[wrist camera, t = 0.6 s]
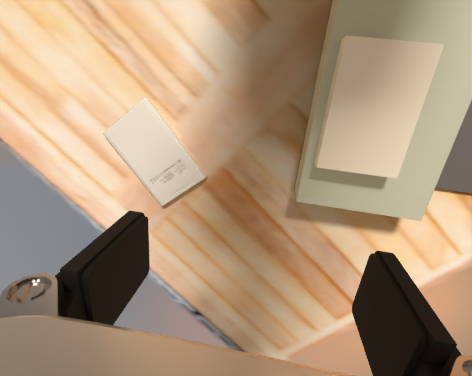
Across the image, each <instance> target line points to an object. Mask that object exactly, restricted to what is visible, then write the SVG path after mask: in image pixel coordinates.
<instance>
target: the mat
mask: <svg viewBox="0 0 472 376" xmlns="http://www.w3.org/2000/svg"><path fill="white" fill-rule="evenodd" d="M435 188H438V189H445V190H452V191H459V192H466V193H472V100H471V103H470V105H469V107H468V110H467V112H466V115H465V117H464V119H463V122H462V124H461V127H460V129H459V131H458V134H457V136H456V139H455V141H454V143H453V146H452V148H451V151H450V153H449V156H448V158H447V160H446V163H445V165H444V168H443V170H442V172H441V175H440V177H439V180H438V182H437V184H436V187H435Z"/></svg>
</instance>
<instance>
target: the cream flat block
mask: <svg viewBox="0 0 472 376" xmlns="http://www.w3.org/2000/svg"><path fill="white" fill-rule="evenodd" d="M443 47H444V44H436V43H425V42H414V41H403V40H392V39H381V38H370V37H359V36H348V35H346V36H345V37H344V38H342V39H341V43H340V47H339V52H338V56H337V61H336V65H335V70H334V74H333V79H332V83H331V88H330V92H329V97H328V101H327V106H326V110H325V115H324V119H323V124H322V128H321V133H320V137H319V142H318V146H317V151H316V155H315V160H314V163H315V166H316V167H317V168H325V169H332V170H339V171H346V172H353V173H360V174H367V175H374V176H382V177H389V178H396V179H397V178H398V175H399V172H400V169H401V166H402V163H403V161H404V158H405V155H406V152H407V149H408V146H409V144H410V141H411V138H412V135H413V132H414V129H415V127H416V124H417V121H418V118H419V115H420V112H421V110H422V107H423V104H424V101H425V98H426V95H427V93H428V90H429V87H430V84H431V81H432V78H433V76H434V73H435V70H436V67H437V64H438V61H439V59H440V56H441V53H442V50H443Z"/></svg>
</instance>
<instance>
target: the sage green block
mask: <svg viewBox="0 0 472 376" xmlns="http://www.w3.org/2000/svg"><path fill="white" fill-rule="evenodd" d="M346 35H348V36H359V37H370V38H381V39H392V40H403V41H414V42H425V43H436V44H444V47H443V50H442V53H441V56H440V59H439V61H438V64H437V67H436V70H435V73H434V76H433V78H432V81H431V84H430V87H429V90H428V93H427V95H426V98H425V101H424V104H423V107H422V110H421V112H420V115H419V118H418V121H417V124H416V127H415V129H414V132H413V135H412V138H411V141H410V144H409V146H408V149H407V152H406V155H405V158H404V161H403V163H402V166H401V169H400V172H399V175H398V178H397V179H396V178H389V177H382V176H374V175H367V174H360V173H353V172H346V171H339V170H332V169H325V168H317V167H316V166H315V163H314V160H315V155H316V151H317V146H318V142H319V137H320V133H321V128H322V124H323V119H324V115H325V110H326V106H327V101H328V97H329V92H330V88H331V83H332V79H333V74H334V70H335V65H336V61H337V56H338V52H339V47H340V43H341V39H342V38H344V37H345V36H346ZM471 100H472V0H332V5H331V10H330V15H329V20H328V25H327V30H326V35H325V40H324V45H323V50H322V54H321V59H320V64H319V69H318V74H317V79H316V84H315V89H314V94H313V99H312V104H311V109H310V114H309V119H308V124H307V129H306V134H305V139H304V144H303V149H302V154H301V159H300V164H299V168H298V173H297V178H296V183H295V188H294V191H295V197H296V202H301V203H307V204H314V205H320V206H327V207H333V208H340V209H346V210H353V211H359V212H366V213H372V214H379V215H385V216H392V217H398V218H405V219H411V220H418V221H421V220H422V218H423V216H424V213H425V211H426V208H427V206H428V204H429V201H430V199H431V196H432V194H433V192H434V189H435V187H436V184H437V182H438V180H439V177H440V175H441V172H442V170H443V168H444V165H445V163H446V160H447V158H448V156H449V153H450V151H451V148H452V146H453V143H454V141H455V139H456V136H457V134H458V131H459V129H460V127H461V124H462V122H463V119H464V117H465V115H466V112H467V110H468V107H469V105H470V103H471Z"/></svg>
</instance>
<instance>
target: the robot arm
mask: <svg viewBox="0 0 472 376" xmlns="http://www.w3.org/2000/svg"><path fill="white" fill-rule="evenodd" d="M148 272H149V235H148V218H147V217H145V215H144V213H141V212H135V211H129V212H127V213H126V214H125V215H124V216H123V217H121V218H120V219H119V220H118V221H117V222H115V223H114V224H113V225H112V226H111V227H109V228H108V229H107V230H106V231H105V232H104V233H102V234H101V235H100V236H99V237H98V238H97V239H95V240H94V241H93V242H92V243H91V244H89V245H88V246H87V247H86V248H85V249H83V250H82V251H81V252H80V253H79V254H77V255H76V256H75V257H74V258H73V259H72V260H70V261H69V262H68V263H67V264H66V265H64V266H63V267H62V268H61V269H60V272H59V273H58V274H57V275H56V276H55V277H54V276H53V275H51V274H47V273H45V274H44V273H39V274H32V275H29V276H26V277H23V278H21V279H18V280H16V281H14V282H13V283H11V284H10V285H8V286H7V287H6V288H5V289H4V290H3V291H2V293H1V295H0V376H354V375H349V374H345V373H340V372H335V371H331V370H326V369H321V368H317V367H312V366H308V365H302V364H298V363H294V362H289V361H284V360H280V359H275V358H270V357H265V356H261V355H256V354H251V353H246V352H241V351H237V350H232V349H227V348H222V347H217V346H213V345H208V344H203V343H198V342H193V341H188V340H184V339H178V338H173V337H169V336H163V335H159V334H154V333H149V332H144V331H139V330H134V329H129V328H124V327H118V326H113V324H114V323H115V321H116V320H117V318H118V317H119V315H120V314H121V313H122V311H123V310H124V308H125V307H126V305H127V304H128V302H129V301H130V300H131V298H132V297H133V295H134V294H135V292H136V291H137V289H138V288H139V286H140V285H141V283H142V282H143V280H144V279H145V278H146V276H147V275H148ZM352 313H353V316H354V319H355V322H356V325H357V328H358V331H359V334H360V337H361V340H362V343H363V346H364V350H365V353H366V356H367V359H368V361H369V365H370V368H371V371H372V374H373V376H472V356H470V355H461V353H460V352H459V350H458V349H457V348H456V346H457V344H456V342H455V341H454V340H453V338H452V337H451V335H450V334H449V332H448V331H447V330H446V328H445V327H444V325H443V324H442V322H441V321H440V319H439V318H438V317H437V315H436V314H435V312H434V311H433V310H432V308H431V307H430V305H429V304H428V302H427V301H426V299H425V298H424V296H423V295H422V294H421V292H420V291H419V289H418V288H417V286H416V285H415V283H414V282H413V281H412V279H411V278H410V276H409V275H408V273H407V272H406V270H405V269H404V268H403V266H402V265H401V263H400V262H399V260H398V259H397V258H396V256H395V255H394V254H393V253H388V252H382V251H376V252H375V254H371V255H370V256H369V259H368V262H367V265H366V267H365V270H364V273H363V276H362V279H361V282H360V285H359V288H358V291H357V293H356V296H355V299H354V302H353V305H352Z"/></svg>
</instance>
